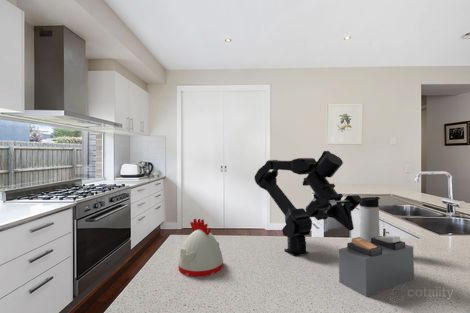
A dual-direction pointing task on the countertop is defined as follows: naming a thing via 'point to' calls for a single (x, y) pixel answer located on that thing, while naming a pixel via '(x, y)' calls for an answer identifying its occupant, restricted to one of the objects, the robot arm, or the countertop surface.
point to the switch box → (375, 266)
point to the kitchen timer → (200, 252)
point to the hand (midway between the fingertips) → (351, 229)
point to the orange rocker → (363, 243)
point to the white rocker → (389, 239)
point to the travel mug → (369, 218)
